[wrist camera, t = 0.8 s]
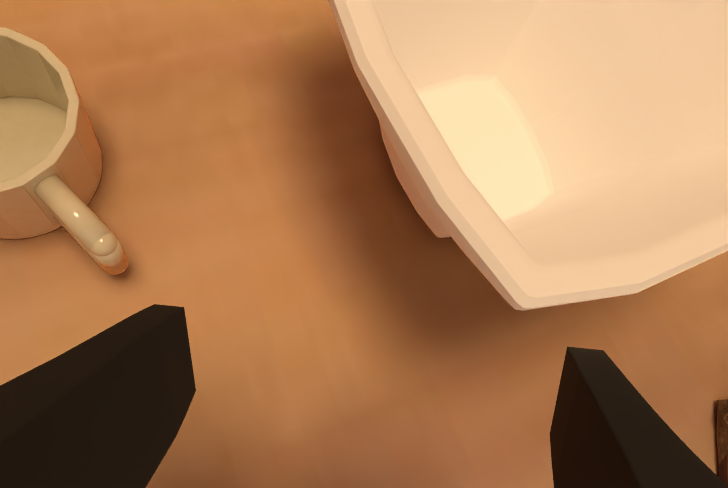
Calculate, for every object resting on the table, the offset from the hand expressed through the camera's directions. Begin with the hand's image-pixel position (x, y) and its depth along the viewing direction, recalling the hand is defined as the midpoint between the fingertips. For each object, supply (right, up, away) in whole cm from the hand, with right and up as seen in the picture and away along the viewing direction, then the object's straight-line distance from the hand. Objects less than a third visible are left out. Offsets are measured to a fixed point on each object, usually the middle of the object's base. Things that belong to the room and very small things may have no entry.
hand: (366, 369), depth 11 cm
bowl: (+5, +7, +22) cm, 24 cm away
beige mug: (-15, +5, +17) cm, 23 cm away
